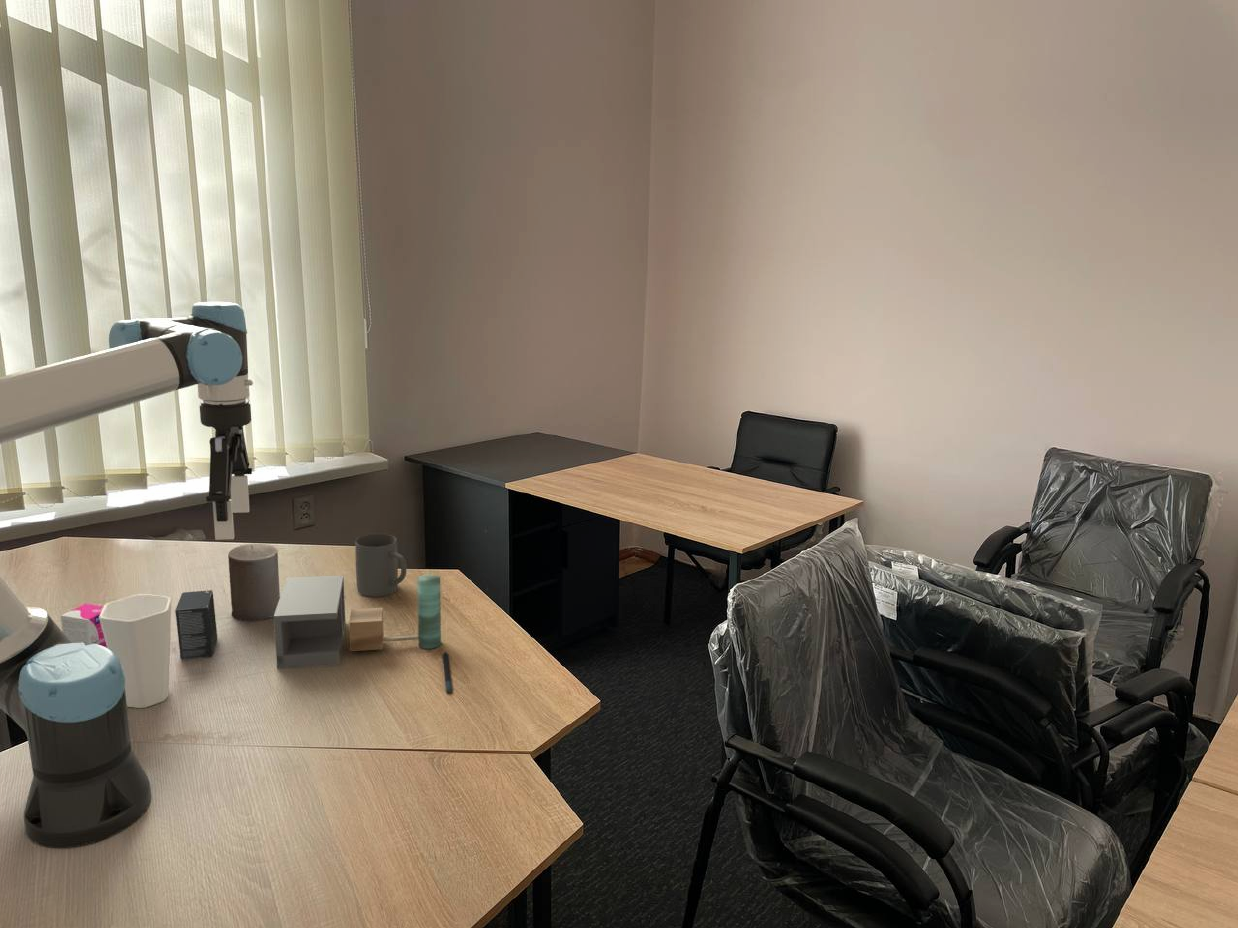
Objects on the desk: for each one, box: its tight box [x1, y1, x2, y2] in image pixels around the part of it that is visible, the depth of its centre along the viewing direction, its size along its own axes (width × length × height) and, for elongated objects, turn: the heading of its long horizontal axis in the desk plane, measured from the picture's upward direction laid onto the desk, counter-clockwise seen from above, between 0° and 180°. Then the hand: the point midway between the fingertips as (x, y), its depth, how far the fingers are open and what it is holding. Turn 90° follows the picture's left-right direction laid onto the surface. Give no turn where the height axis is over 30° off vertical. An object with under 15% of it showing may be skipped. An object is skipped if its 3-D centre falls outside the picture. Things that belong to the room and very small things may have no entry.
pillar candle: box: [227, 543, 281, 622], centre depth 182 cm, size 10×10×15 cm
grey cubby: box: [273, 574, 346, 669], centre depth 170 cm, size 18×11×11 cm, turn 13°
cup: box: [99, 593, 172, 709], centre depth 148 cm, size 11×10×17 cm
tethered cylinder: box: [348, 574, 442, 652], centre depth 170 cm, size 6×17×14 cm, turn 103°
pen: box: [442, 651, 453, 695], centre depth 163 cm, size 1×16×1 cm, turn 14°
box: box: [174, 589, 218, 661], centre depth 166 cm, size 8×6×11 cm
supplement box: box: [60, 603, 107, 648], centre depth 157 cm, size 6×6×12 cm
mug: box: [354, 532, 407, 598], centre depth 195 cm, size 14×9×12 cm
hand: (233, 524), depth 145 cm, fingers open, 13 cm apart
